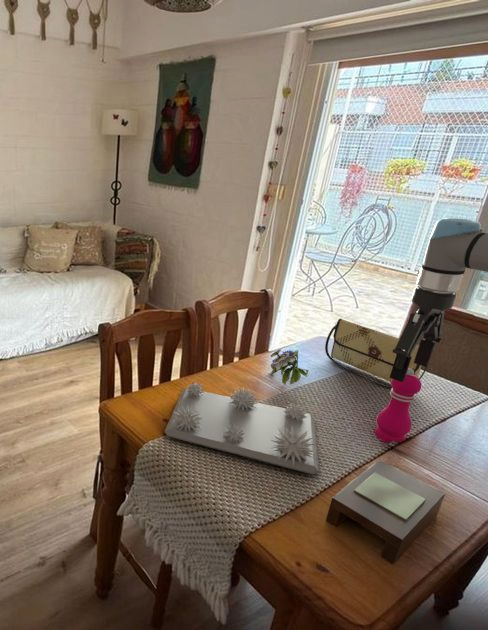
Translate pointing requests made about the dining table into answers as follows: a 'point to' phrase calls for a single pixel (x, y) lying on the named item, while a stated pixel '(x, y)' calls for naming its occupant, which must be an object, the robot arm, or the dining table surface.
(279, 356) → the passion flower
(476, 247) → the robot arm
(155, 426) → the dining table surface
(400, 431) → the pepper mill
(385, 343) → the clutch purse
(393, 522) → the shelf
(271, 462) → the decorative tray
